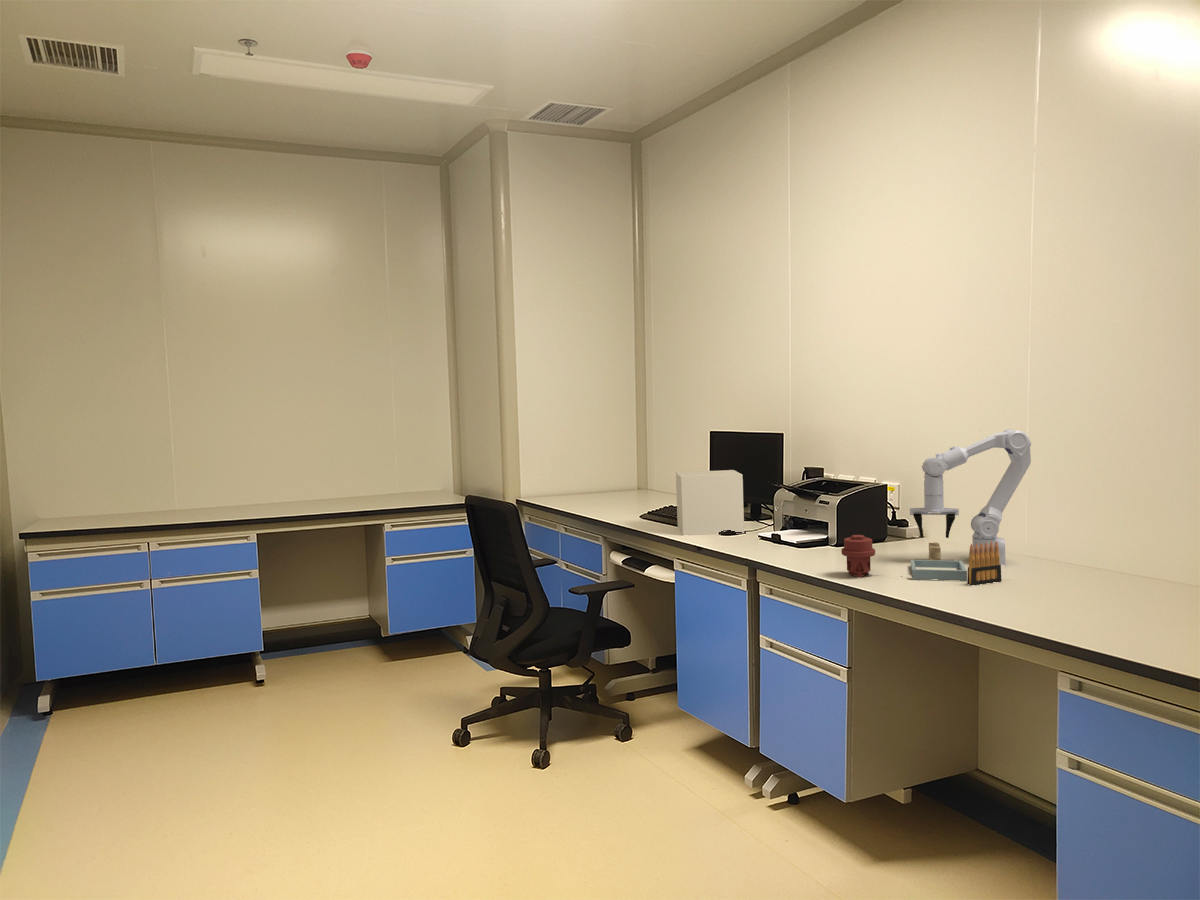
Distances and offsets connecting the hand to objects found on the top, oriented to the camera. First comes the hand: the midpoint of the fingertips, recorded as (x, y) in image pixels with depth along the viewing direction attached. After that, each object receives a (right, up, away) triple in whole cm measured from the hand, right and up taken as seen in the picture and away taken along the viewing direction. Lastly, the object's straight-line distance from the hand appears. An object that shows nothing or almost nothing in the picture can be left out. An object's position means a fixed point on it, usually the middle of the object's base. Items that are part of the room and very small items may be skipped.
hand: (934, 537), depth 275 cm
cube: (-61, -7, +87) cm, 106 cm away
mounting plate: (0, -9, +1) cm, 9 cm away
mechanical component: (-27, -11, -9) cm, 31 cm away
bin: (-4, -10, -13) cm, 17 cm away
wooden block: (0, -8, 0) cm, 8 cm away
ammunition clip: (+4, -11, -26) cm, 28 cm away
